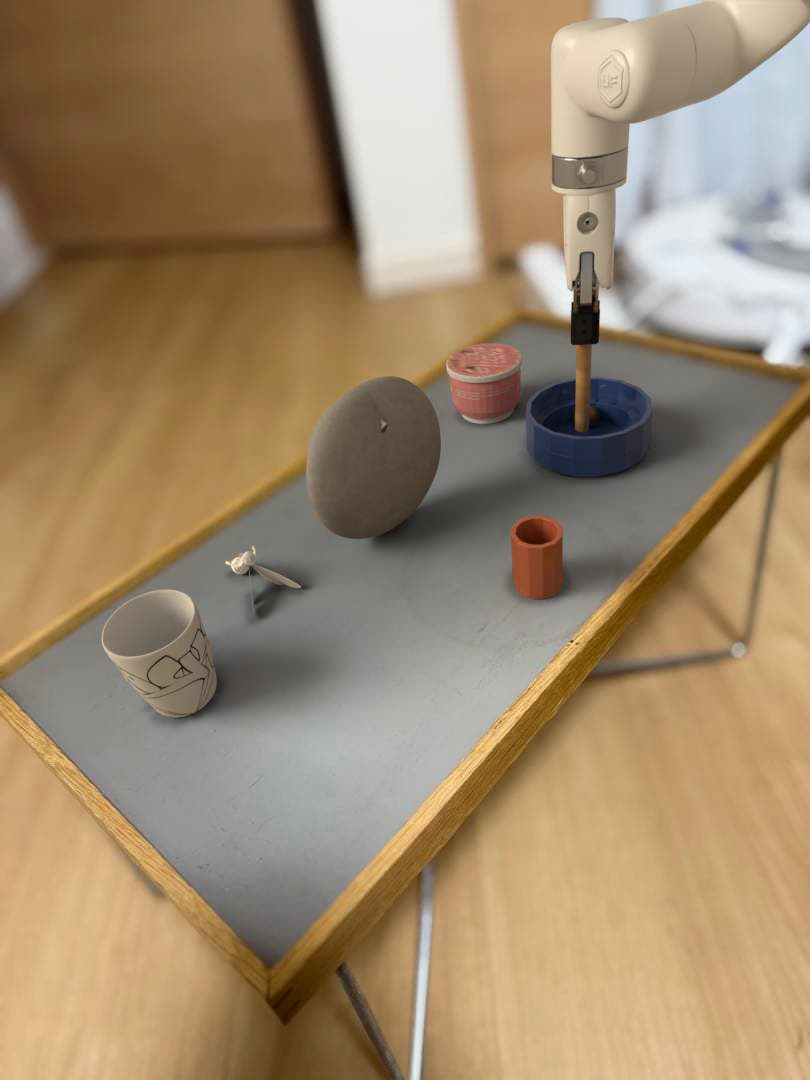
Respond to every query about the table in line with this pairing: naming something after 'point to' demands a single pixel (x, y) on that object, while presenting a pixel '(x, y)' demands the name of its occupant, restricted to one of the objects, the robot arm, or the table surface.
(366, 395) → the grey-brown thick disc
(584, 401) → the stick
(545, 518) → the holder
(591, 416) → the bead
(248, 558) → the fairy figurine
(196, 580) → the table surface
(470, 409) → the container
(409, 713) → the table surface
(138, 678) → the mug
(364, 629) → the table surface
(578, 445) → the bowl
